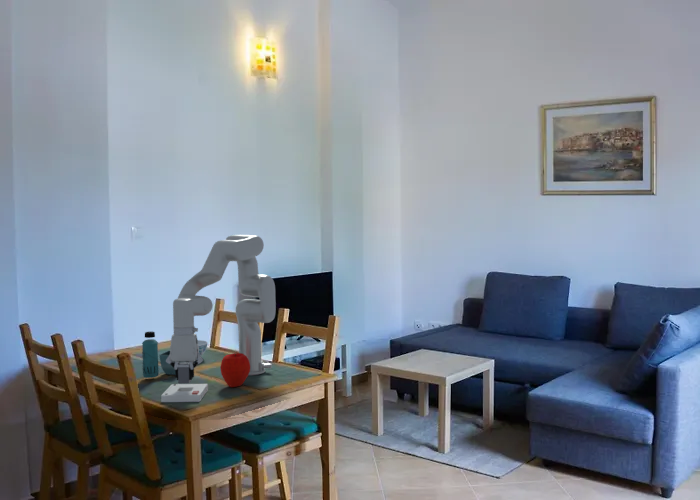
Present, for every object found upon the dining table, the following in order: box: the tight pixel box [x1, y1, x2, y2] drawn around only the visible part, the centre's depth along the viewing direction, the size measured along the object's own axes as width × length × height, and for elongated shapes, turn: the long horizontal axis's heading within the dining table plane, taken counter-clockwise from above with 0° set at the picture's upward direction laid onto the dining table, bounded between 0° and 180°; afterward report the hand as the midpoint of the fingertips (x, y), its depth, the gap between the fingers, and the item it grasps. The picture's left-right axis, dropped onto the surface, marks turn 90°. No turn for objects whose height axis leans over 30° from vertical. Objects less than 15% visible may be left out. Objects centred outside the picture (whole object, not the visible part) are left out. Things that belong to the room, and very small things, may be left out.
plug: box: [177, 362, 192, 384], centre depth 260 cm, size 4×4×7 cm
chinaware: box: [196, 339, 208, 361], centre depth 323 cm, size 15×15×8 cm
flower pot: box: [158, 350, 186, 376], centre depth 296 cm, size 9×9×9 cm
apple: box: [220, 352, 250, 388], centre depth 274 cm, size 12×12×13 cm
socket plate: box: [160, 383, 209, 403], centre depth 261 cm, size 14×16×3 cm
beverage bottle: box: [141, 331, 160, 379], centre depth 286 cm, size 6×7×20 cm
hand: (184, 378), depth 260 cm, fingers closed on plug, 4 cm apart
